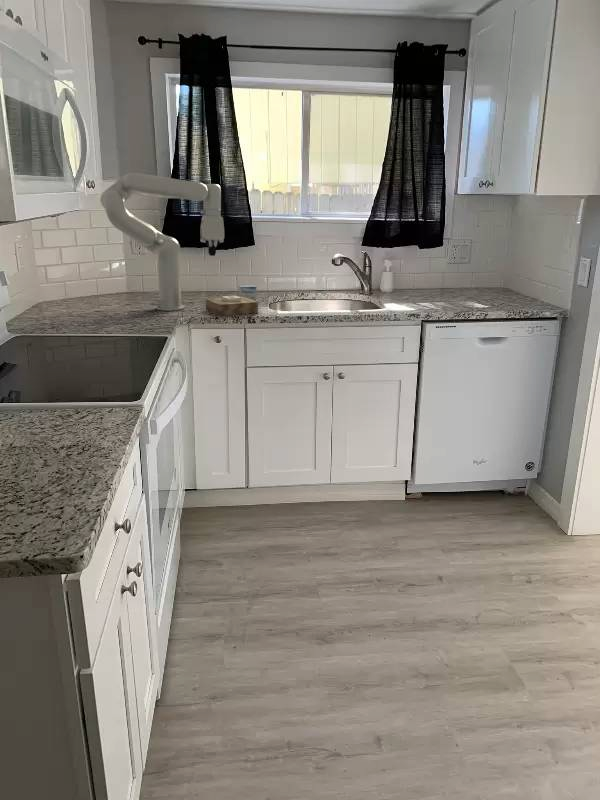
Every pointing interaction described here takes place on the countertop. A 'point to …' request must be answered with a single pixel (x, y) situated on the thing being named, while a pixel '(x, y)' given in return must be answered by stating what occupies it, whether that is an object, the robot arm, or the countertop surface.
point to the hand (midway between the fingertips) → (212, 255)
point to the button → (231, 298)
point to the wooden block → (231, 306)
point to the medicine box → (248, 292)
